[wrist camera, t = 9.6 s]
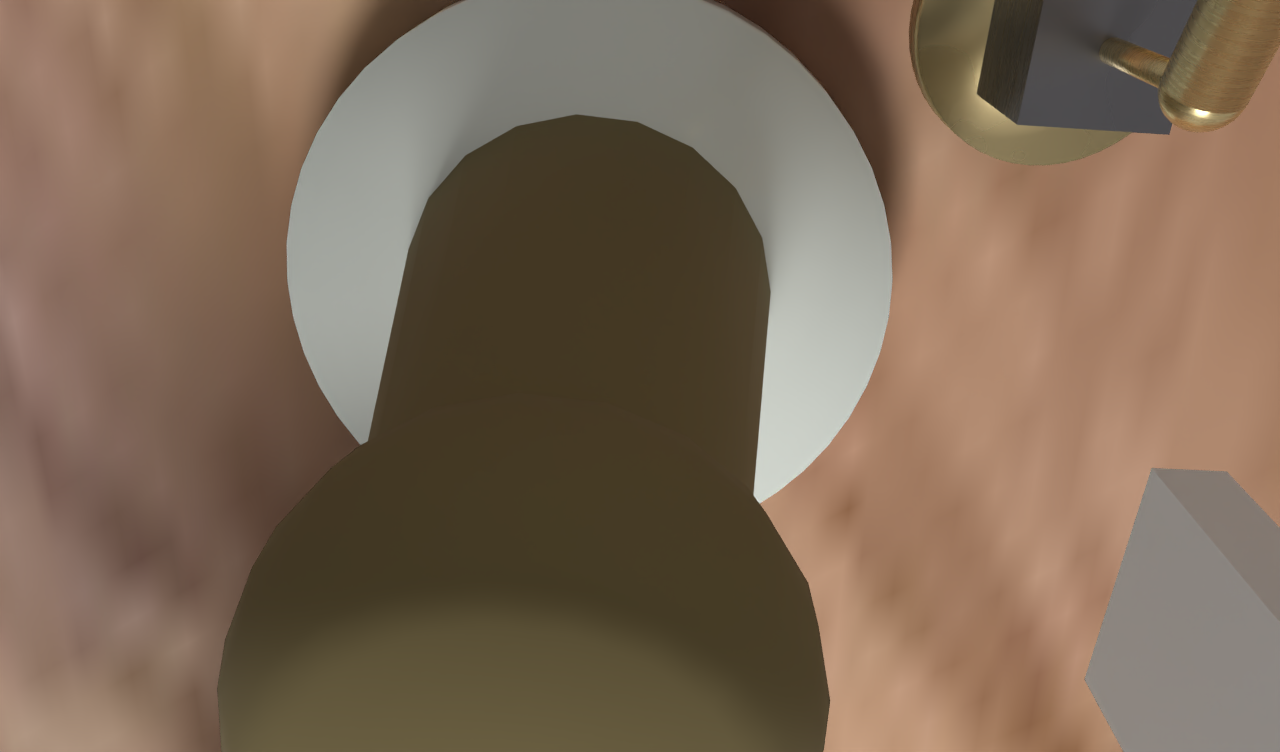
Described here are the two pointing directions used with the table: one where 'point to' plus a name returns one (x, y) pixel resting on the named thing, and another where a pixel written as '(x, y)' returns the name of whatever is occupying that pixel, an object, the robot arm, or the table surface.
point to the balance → (1087, 69)
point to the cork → (547, 486)
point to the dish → (618, 89)
